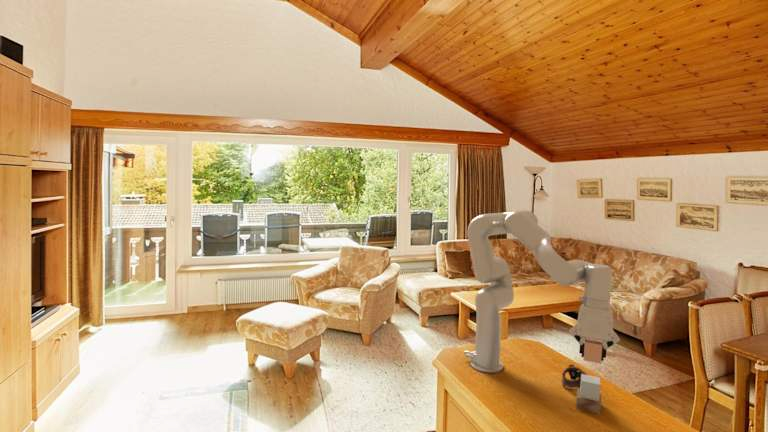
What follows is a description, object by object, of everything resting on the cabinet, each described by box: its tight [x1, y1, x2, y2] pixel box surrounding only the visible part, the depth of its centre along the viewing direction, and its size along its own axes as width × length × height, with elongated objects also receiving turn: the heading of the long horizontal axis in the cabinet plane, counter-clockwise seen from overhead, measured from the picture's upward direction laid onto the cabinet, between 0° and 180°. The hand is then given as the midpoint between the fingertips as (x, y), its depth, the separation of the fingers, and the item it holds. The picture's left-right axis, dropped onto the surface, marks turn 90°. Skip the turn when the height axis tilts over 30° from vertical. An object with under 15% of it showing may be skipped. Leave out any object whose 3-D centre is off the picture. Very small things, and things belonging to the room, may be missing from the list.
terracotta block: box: [583, 338, 603, 364], centre depth 135 cm, size 5×5×6 cm
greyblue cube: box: [579, 374, 601, 401], centre depth 136 cm, size 6×6×6 cm
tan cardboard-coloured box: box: [575, 387, 602, 415], centre depth 137 cm, size 7×7×4 cm
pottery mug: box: [561, 364, 588, 389], centre depth 150 cm, size 12×10×8 cm
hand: (592, 356), depth 135 cm, fingers closed on terracotta block, 5 cm apart
